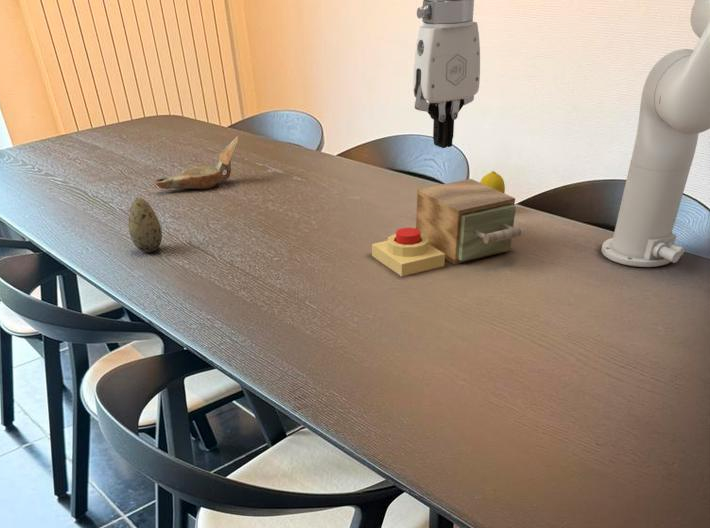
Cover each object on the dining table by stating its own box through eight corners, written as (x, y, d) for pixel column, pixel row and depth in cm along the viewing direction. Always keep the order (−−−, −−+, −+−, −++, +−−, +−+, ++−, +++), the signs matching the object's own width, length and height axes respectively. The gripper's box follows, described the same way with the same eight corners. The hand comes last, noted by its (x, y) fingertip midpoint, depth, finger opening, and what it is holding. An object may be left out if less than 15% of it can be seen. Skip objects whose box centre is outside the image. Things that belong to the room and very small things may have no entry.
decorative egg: (128, 255, 129) (115, 201, 123) (145, 244, 134) (133, 191, 127) (154, 258, 128) (142, 204, 121) (171, 247, 132) (160, 194, 126)
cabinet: (508, 251, 125) (515, 198, 119) (454, 264, 122) (458, 210, 115) (466, 229, 135) (471, 178, 129) (415, 240, 131) (417, 189, 125)
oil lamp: (248, 185, 161) (243, 139, 155) (160, 199, 155) (151, 152, 148) (238, 175, 167) (232, 131, 161) (152, 189, 161) (143, 143, 154)
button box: (444, 266, 121) (445, 244, 119) (401, 276, 118) (402, 254, 116) (412, 246, 129) (413, 225, 126) (371, 255, 126) (371, 234, 123)
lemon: (501, 216, 140) (506, 175, 135) (475, 215, 141) (478, 174, 136) (502, 207, 144) (507, 167, 139) (476, 206, 145) (480, 167, 140)
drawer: (526, 257, 121) (532, 213, 116) (476, 270, 117) (480, 225, 112) (471, 228, 132) (475, 187, 127) (424, 239, 129) (426, 197, 124)
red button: (424, 243, 120) (425, 233, 119) (403, 247, 119) (403, 238, 118) (412, 235, 123) (412, 225, 122) (391, 240, 122) (391, 230, 121)
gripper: (419, 20, 96) (416, 158, 108) (503, 10, 101) (492, 143, 113) (392, 16, 101) (393, 148, 113) (474, 6, 106) (466, 134, 118)
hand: (442, 145), depth 113 cm, fingers closed
